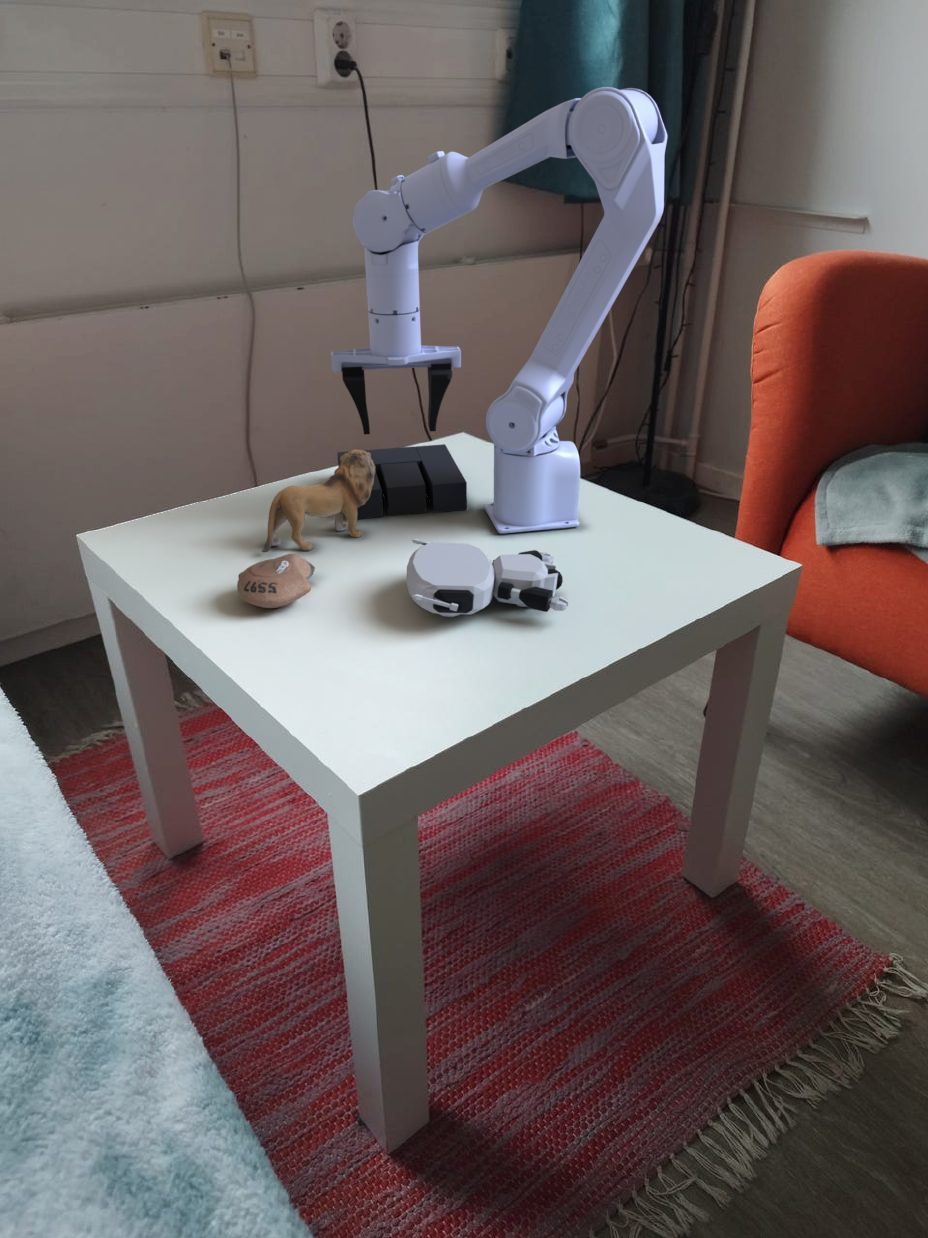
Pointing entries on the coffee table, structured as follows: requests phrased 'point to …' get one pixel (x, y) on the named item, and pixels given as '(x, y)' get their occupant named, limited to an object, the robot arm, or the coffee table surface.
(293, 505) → the lion figurine
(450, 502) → the notched pad
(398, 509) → the black block
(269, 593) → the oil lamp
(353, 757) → the coffee table surface
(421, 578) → the robot toy
